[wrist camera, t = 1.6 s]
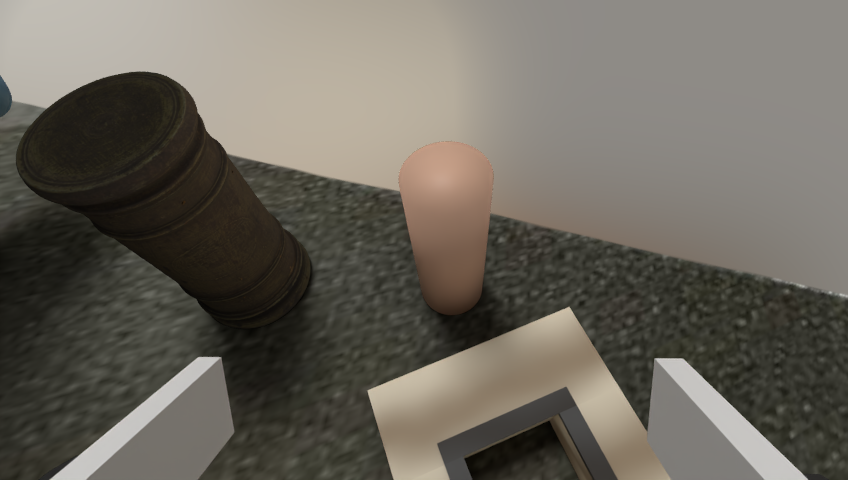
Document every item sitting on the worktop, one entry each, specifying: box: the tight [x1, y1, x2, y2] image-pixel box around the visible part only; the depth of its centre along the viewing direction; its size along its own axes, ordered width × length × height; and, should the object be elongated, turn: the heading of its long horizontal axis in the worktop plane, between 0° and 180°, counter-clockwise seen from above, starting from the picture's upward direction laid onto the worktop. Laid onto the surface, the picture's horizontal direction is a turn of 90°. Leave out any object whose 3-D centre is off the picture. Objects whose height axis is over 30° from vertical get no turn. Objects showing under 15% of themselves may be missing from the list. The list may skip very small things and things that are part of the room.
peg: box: [399, 141, 494, 315], centre depth 27 cm, size 5×5×14 cm
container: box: [16, 72, 311, 329], centre depth 27 cm, size 9×9×18 cm
